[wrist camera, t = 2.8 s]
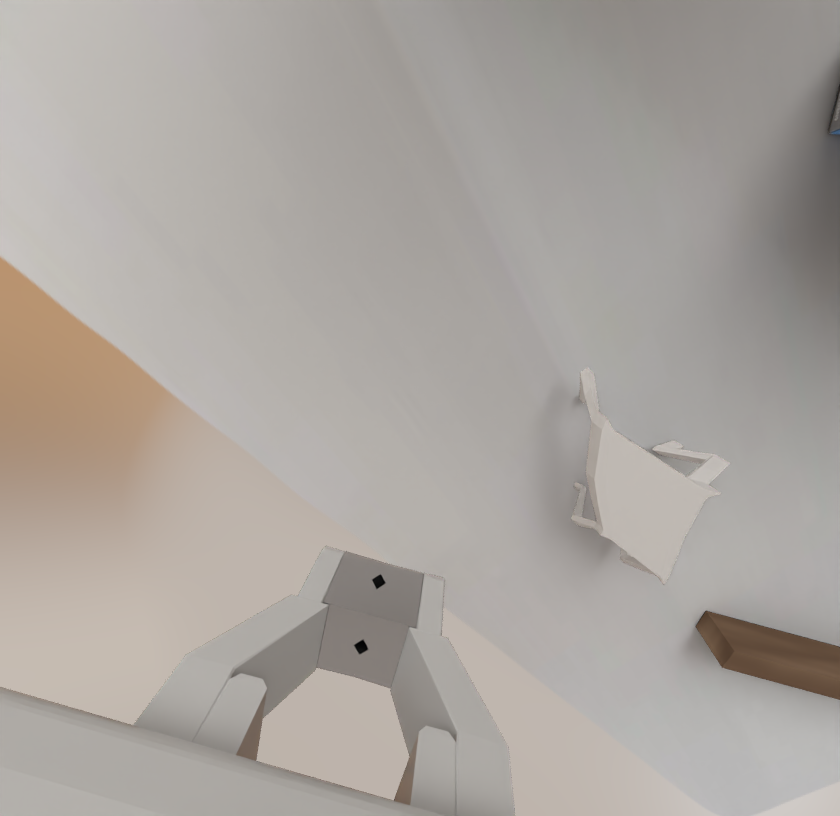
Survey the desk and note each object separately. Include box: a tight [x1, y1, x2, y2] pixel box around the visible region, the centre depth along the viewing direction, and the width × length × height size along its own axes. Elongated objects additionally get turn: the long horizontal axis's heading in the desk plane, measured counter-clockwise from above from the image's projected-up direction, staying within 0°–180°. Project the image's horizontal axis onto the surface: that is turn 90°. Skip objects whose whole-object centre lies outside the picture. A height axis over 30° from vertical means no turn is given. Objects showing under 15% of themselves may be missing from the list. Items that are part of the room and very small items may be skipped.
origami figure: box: [571, 367, 730, 585], centre depth 21 cm, size 12×8×5 cm
